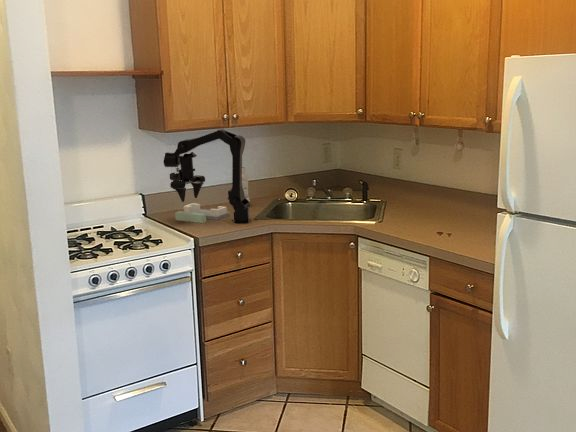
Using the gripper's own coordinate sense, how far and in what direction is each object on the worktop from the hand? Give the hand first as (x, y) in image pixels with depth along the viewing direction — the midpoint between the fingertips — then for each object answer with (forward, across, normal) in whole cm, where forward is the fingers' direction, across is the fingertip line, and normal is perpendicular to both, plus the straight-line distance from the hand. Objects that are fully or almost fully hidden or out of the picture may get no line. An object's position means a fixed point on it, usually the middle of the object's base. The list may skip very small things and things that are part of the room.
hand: (189, 199), depth 309 cm
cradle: (+10, -11, 0) cm, 15 cm away
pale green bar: (+10, 0, 0) cm, 10 cm away
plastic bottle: (+10, -35, +5) cm, 37 cm away
